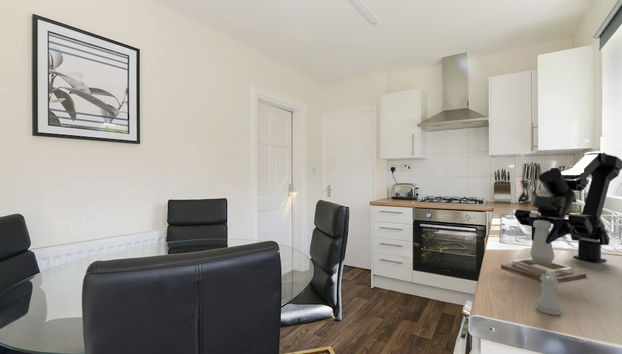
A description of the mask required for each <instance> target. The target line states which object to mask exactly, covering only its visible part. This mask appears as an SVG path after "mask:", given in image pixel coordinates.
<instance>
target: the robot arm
mask: <svg viewBox="0 0 622 354" xmlns="http://www.w3.org/2000/svg"><path fill="white" fill-rule="evenodd" d="M621 170H622V159H621V158H619V157H618V156H616V155H611V154H607V153H605V152H602V151H590V152H585V153H584V154H583V156H582V157H581V159H580V160H579V161H578V162H577V163H575V165H574V166H572V167H571V168H570V169H567V170H563V171H561V169H560V167H551V168H550V170H547V171H544V172H542V173H540V174H539V176H538V179H539V181H540V183H541V185H542V186H543V188H544V189H545V192H546V193H547V194H550V195H549V196H544V195H541V196H540V195H536V196H535V198H534V200H533V201H534V202H533V207H536V208H537V210H536V211H537V213H538V214H537V213H535V212H534V213H533V212H532V211H531V210H530V209H522V208H521V209H520V208H519V209H516V210H515V211H514V213H513V215H514V217H515V219H516V220H517V222H518V223H519V224H520V225H521V226H528V227H530V228H531V240H532V242H533V240H534V234H535V229H536V228H535V227H534V226H533V223H534V221H535V220H545V221H549V222H550V223H551V225H552V227H551V228H550V231H549V235H548V237H547V239H546V243H547V244H549V243H551V244H552V243H553V242H554V241H556V240H558V239H560V238H562V237H565V236H566V235H567V236H568V235H570V238H571V239H570V240H571V241H576V242H577V241H578V243H577V244H578V246H577V255H573V258H575V259H580V260H583V261H586V262H592V263H599V262H607V260H608V259H606V258H602V246H609V245H610V242H611V241H610V236H609V234H608V232H607V230H606V229H605V228H606V225H605V223H604V222H603V220H602V212H603V210H604V209H603V208H604V207H605V206H604V205H605V202H606V198H607V194H608V190H609V187H610V184H611V182H612V181H613V180H614V179H616V178H617V177H619V175H620V172H621ZM590 175H591V181H590V184H589V182H588V179H587V178H588V177H589V176H590ZM588 184H589V188H588V191H587V195H586V198H585V200H584V201H585V202H584V206H583V209H582V211H581V213H580V214H578V213H576V214H571V212H570V208H571V206H572V205H573V204H575V203H577V198H576V196H577V195H576V193H575V192H583V191H584V189H585V188H586V187H587V186H588ZM539 214H540V215H539ZM566 217H567V218H566Z"/></svg>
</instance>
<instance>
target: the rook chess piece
mask: <svg viewBox="0 0 622 354" xmlns="http://www.w3.org/2000/svg"><path fill="white" fill-rule="evenodd" d="M540 280H541V281H540V282H541V284H540V287H541V293H540V296H539V298H538V299H537V300H536V304H537V305H535V307H536V309H538V311H539V310H540V311H539V312H540V313H543V312H544V313H543V314H545V313H547V314H546V315H548V314H552V315H551V316H556V315H557V316H560V315H561V314H562V313H563V312H562V306H561V304H560V301H558V296H557V290H558V287H557V284H558V283H559V282H558V280H557V279H556V276H554V275H551V277H550V276H549V274H546V276H545V274H542V277H540Z"/></svg>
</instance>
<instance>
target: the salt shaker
mask: <svg viewBox="0 0 622 354" xmlns="http://www.w3.org/2000/svg"><path fill="white" fill-rule="evenodd" d="M533 226H534V227H535V228H536V229H535V234H534V240H533V241H532V244H531V247H530V248H531V249H530V257H531V258H532V259H533V261H534V262H536V263H540V264H551V262H553V260H554V259H555V254H554V249H553V244H552V242H551V243H549V244H547V243H546V239H547V237H548V235H549V233H550V231H549V230H551V229H552V224H551V223H550V222H549V221H545V220H535V221H534V223H533Z"/></svg>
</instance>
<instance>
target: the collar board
mask: <svg viewBox="0 0 622 354" xmlns="http://www.w3.org/2000/svg"><path fill="white" fill-rule="evenodd" d="M500 267H501V269H504V270H506V271H510V272H511V273H512V272H513V273H515V274H519V275H522V276H524V277H528V278H531V279H533V280H536V281H540V282H542V281H541V280H540V277H542V274H545V276H546V274H549V276H550V277H551V275H554V276H556V279H557V280H558V283H560V282H565V281H566V282H567V281H572V280H577V279H585V278H587V273H585V272H580V271H577V270H574V267H571V266H567V265H564V264H560V263H556V262H553V261H552V262H551V264H540V263H536V262H534V261H533V259H532V257H531V258H523V259H515V260H512V261H511V262H510V263H505V264H504V263H503V264H500Z"/></svg>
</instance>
